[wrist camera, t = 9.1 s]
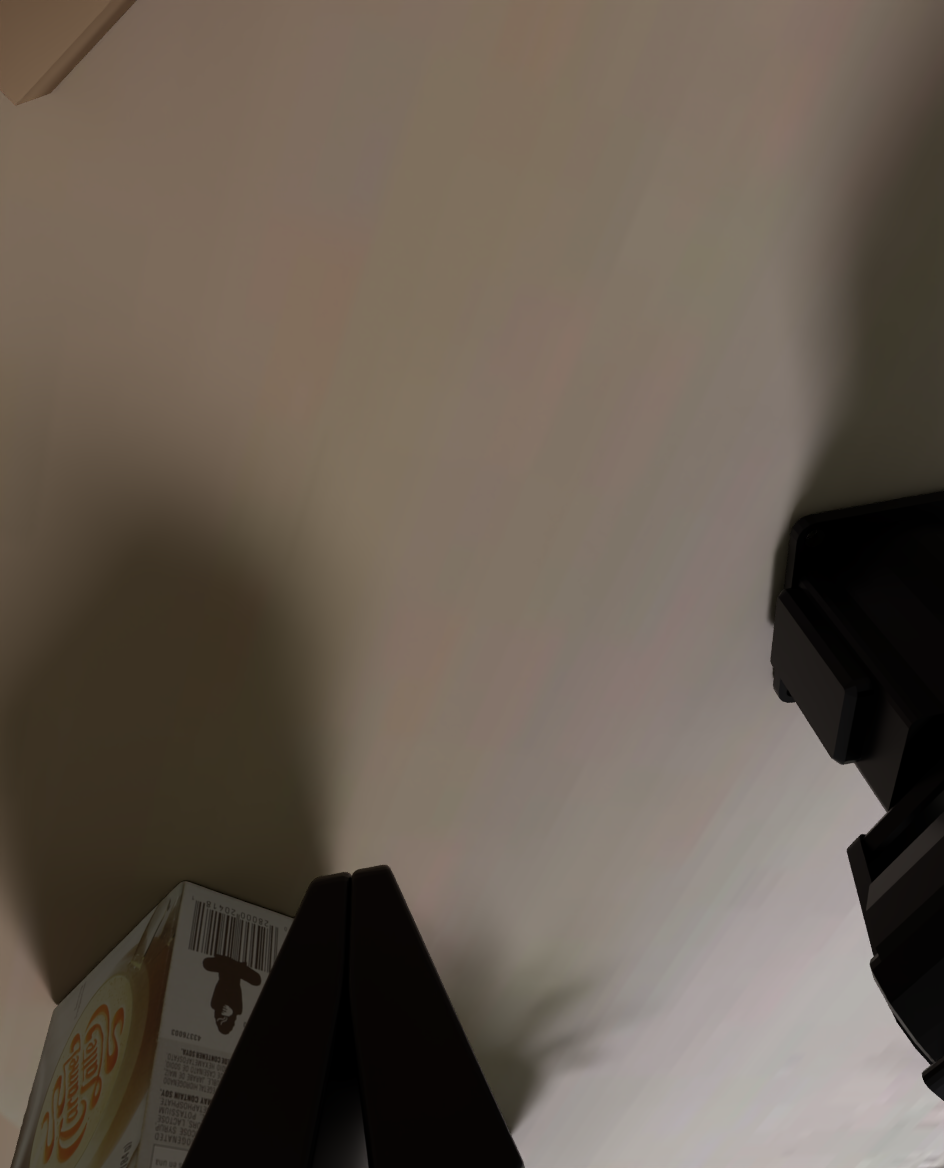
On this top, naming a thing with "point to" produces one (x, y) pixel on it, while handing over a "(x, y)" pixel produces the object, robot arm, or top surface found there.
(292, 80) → the top surface
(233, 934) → the coffee box
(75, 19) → the trap runway
